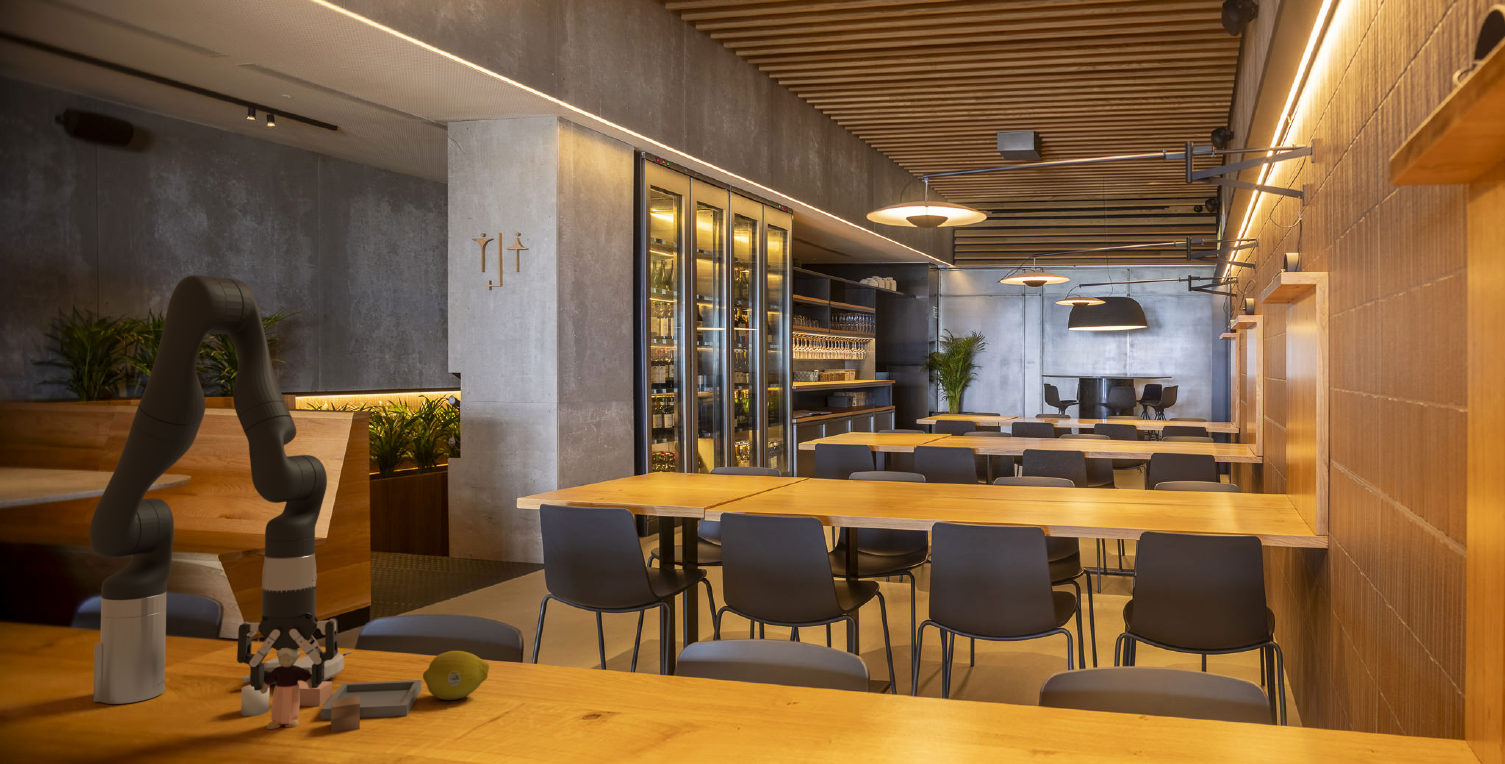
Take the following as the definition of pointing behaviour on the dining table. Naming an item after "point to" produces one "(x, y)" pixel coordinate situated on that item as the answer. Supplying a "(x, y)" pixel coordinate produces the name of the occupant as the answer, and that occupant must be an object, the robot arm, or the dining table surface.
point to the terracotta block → (314, 693)
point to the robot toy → (307, 666)
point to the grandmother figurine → (286, 689)
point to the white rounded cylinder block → (254, 701)
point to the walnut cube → (345, 714)
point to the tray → (378, 698)
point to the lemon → (455, 674)
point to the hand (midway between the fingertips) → (287, 688)
